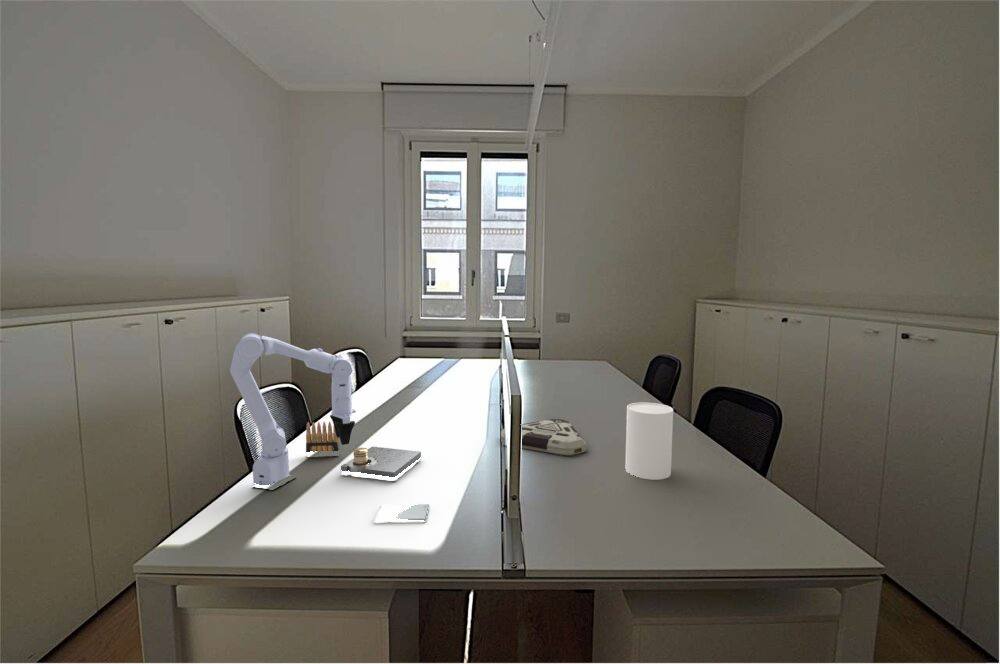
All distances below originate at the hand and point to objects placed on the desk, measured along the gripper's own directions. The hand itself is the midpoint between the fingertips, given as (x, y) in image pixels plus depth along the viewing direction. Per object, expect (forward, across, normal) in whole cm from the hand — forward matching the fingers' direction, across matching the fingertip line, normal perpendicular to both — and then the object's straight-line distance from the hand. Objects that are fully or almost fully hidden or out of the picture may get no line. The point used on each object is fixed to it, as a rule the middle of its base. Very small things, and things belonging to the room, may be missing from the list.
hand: (342, 440), depth 150 cm
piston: (+10, -3, -5) cm, 11 cm away
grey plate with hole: (+10, -3, -11) cm, 15 cm away
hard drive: (+10, -36, -8) cm, 39 cm away
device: (+10, -5, -73) cm, 74 cm away
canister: (+9, -45, -83) cm, 95 cm away
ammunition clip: (+10, +17, +4) cm, 20 cm away
